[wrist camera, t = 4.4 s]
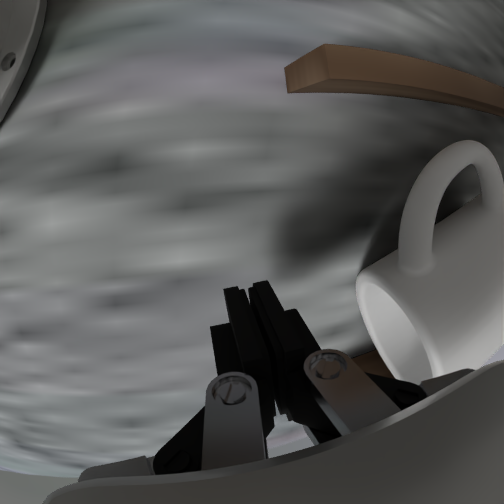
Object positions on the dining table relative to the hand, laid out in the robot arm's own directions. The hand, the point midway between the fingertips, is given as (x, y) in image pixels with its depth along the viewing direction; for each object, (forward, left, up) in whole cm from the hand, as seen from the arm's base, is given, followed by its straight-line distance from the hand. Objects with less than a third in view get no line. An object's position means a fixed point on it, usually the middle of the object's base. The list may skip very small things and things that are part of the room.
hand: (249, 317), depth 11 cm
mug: (0, +11, -4) cm, 11 cm away
